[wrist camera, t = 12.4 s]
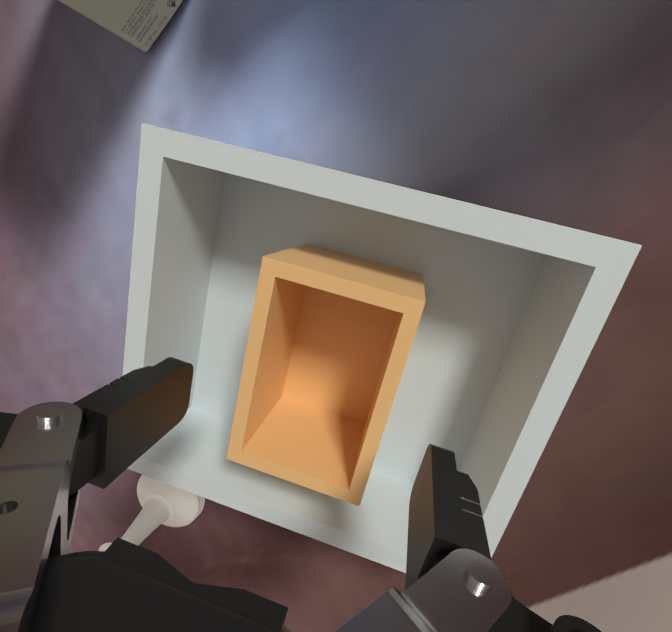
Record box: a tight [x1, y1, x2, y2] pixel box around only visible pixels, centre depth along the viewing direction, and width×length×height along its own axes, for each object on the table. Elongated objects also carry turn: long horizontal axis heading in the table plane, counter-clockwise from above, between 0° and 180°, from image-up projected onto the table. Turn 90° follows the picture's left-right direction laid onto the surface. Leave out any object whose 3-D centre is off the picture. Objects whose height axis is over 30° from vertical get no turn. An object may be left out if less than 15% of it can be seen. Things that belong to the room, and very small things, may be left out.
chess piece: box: [98, 475, 205, 551], centre depth 22 cm, size 5×5×10 cm
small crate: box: [226, 243, 426, 506], centre depth 18 cm, size 6×9×6 cm, turn 166°
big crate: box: [123, 123, 642, 573], centre depth 19 cm, size 18×16×6 cm
